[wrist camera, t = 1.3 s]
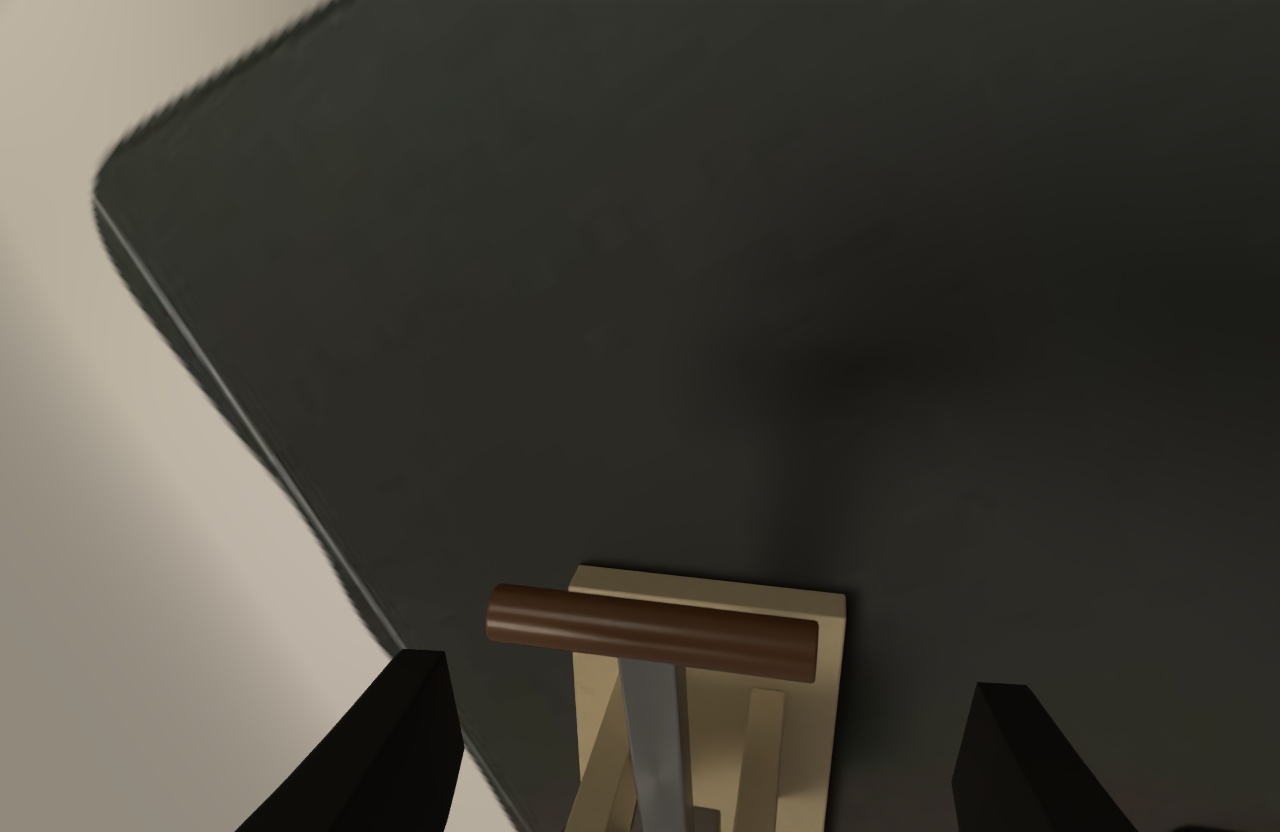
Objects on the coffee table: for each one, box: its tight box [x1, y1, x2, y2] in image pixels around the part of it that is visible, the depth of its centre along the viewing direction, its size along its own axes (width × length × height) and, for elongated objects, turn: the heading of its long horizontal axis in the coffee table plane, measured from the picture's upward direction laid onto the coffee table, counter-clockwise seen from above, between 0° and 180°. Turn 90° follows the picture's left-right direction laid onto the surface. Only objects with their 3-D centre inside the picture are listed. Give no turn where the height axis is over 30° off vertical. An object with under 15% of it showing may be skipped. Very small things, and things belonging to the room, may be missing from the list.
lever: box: [486, 583, 819, 832], centre depth 18 cm, size 12×6×2 cm, turn 1°
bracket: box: [562, 565, 846, 832], centre depth 23 cm, size 10×8×8 cm
